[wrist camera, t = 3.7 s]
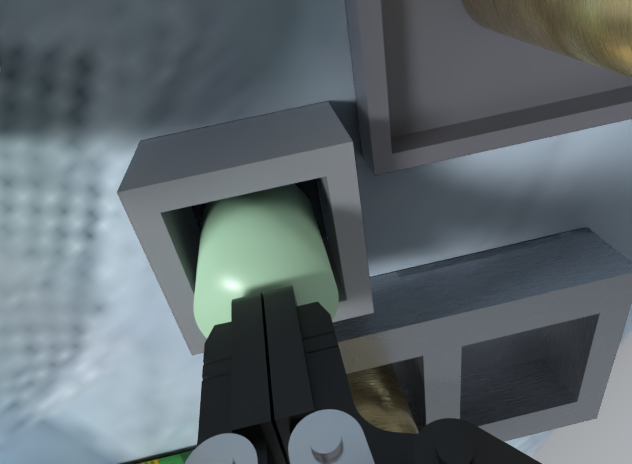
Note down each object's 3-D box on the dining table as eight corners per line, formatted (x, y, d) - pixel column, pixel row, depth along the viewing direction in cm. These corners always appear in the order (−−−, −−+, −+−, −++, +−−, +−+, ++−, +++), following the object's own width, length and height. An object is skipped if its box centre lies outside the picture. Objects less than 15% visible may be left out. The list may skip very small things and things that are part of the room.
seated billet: (294, 347, 20) (328, 557, 13) (385, 325, 20) (465, 522, 13) (310, 404, 22) (346, 609, 15) (391, 384, 22) (462, 578, 15)
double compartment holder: (279, 436, 23) (285, 496, 21) (233, 308, 18) (234, 366, 16) (558, 368, 24) (596, 418, 21) (587, 227, 19) (641, 270, 17)
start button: (186, 188, 14) (172, 267, 10) (304, 162, 14) (327, 232, 10) (219, 279, 16) (216, 371, 12) (322, 256, 16) (346, 340, 12)
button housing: (140, 140, 14) (116, 192, 11) (327, 101, 14) (353, 141, 12) (198, 286, 17) (192, 355, 15) (350, 252, 18) (373, 312, 15)
